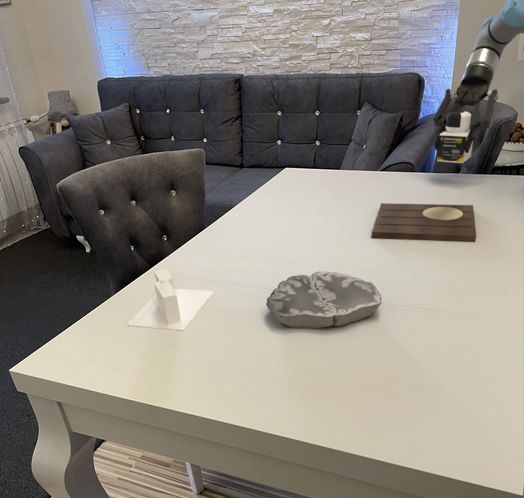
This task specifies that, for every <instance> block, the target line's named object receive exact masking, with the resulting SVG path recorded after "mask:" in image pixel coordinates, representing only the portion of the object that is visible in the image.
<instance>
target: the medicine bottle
mask: <svg viewBox="0 0 524 498" xmlns="http://www.w3.org/2000/svg"><path fill="white" fill-rule="evenodd" d="M471 121H472V114H471V112H468V111H465V110H459V111H455V112H451V113H449V114H448V115H447V120H446V129H447V130H446V131H444V132H443V133H441V134H440V136H439V146H438V151H437V157H436V161H437V162H442V163H455V164H464V163H465V162H466V161H467V160H469V159H470V158H471V157H472V151H473V144H474V140H473V141H472V144H471V147H470V149H469V152H468V153H465V150H464V145H465V142H466V140H467V137H468V134H469V131H470V129H471Z"/></svg>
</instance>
